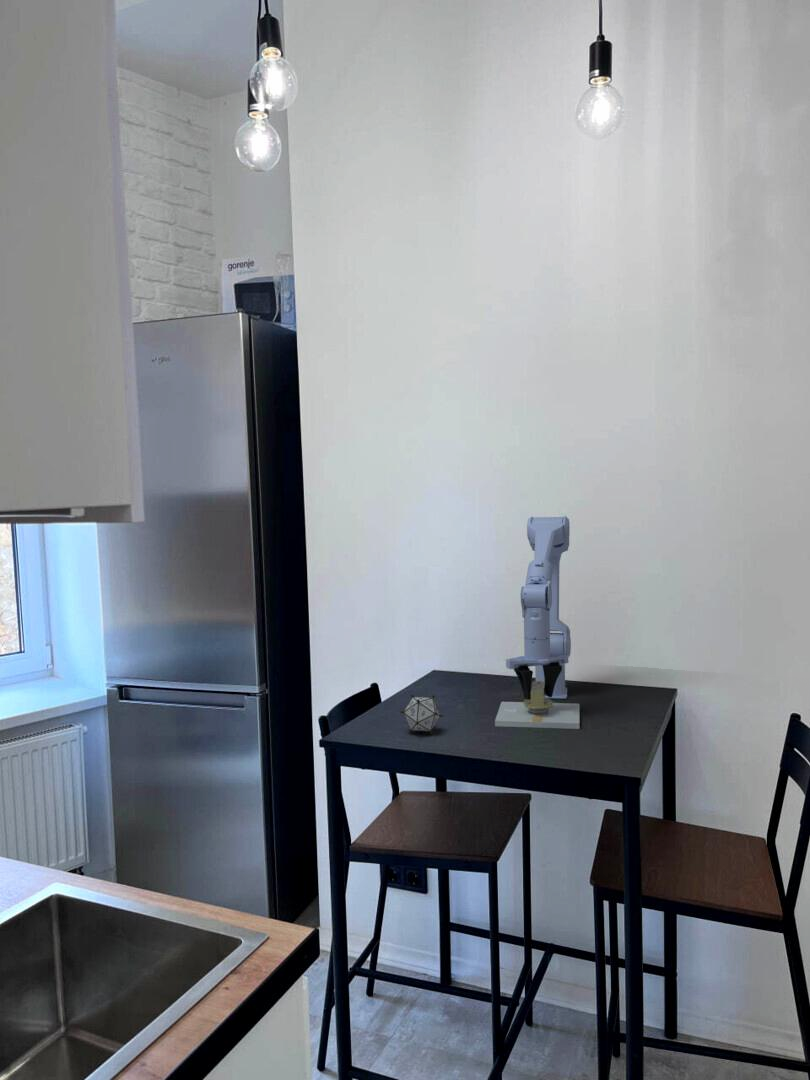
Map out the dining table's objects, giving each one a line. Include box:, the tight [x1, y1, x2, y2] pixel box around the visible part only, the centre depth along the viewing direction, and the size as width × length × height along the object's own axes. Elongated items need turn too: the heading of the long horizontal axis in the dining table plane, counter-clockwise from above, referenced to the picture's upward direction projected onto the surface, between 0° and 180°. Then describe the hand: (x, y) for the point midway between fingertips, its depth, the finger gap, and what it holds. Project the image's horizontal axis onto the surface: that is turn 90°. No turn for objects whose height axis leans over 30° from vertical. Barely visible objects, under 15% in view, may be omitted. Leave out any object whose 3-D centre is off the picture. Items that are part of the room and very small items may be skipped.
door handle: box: [523, 681, 554, 709], centre depth 189 cm, size 6×9×4 cm
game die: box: [399, 693, 444, 736], centre depth 180 cm, size 9×8×10 cm
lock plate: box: [494, 701, 581, 730], centre depth 189 cm, size 16×18×2 cm
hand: (538, 697), depth 189 cm, fingers closed on door handle, 5 cm apart
